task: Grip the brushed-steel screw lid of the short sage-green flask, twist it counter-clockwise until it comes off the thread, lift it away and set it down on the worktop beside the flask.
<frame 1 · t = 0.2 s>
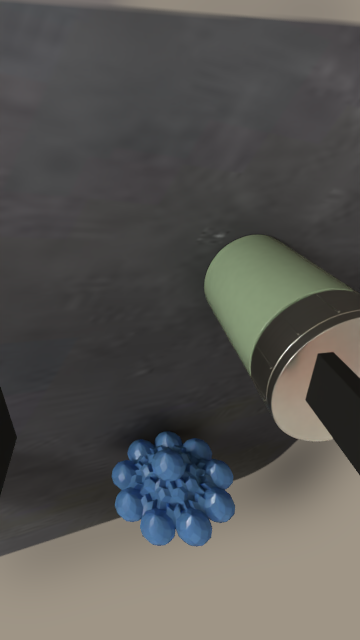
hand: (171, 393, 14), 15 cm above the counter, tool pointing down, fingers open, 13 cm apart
flask: (249, 281, 30), on the counter
flask lid: (340, 378, 18), point 14 cm above the counter, screwed on, not yet turned
grapes: (162, 426, 37), on the counter
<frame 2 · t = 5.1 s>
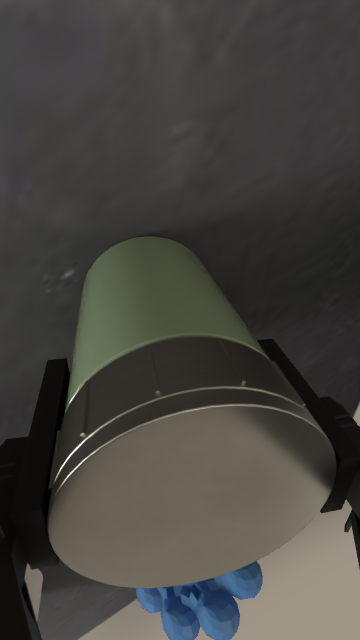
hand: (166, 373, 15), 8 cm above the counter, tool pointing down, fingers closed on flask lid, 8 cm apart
flask: (148, 299, 22), on the counter
flask lid: (196, 494, 10), point 14 cm above the counter, screwed on, not yet turned, touching gripper
grapes: (171, 475, 32), on the counter
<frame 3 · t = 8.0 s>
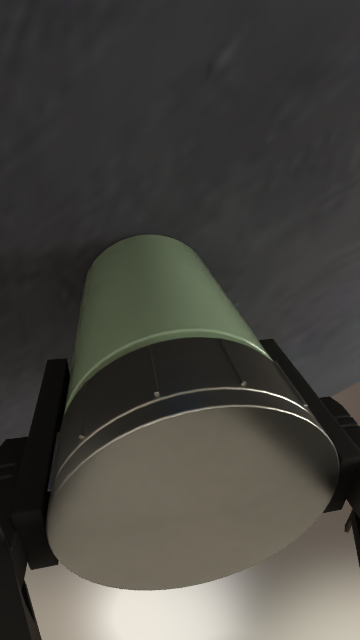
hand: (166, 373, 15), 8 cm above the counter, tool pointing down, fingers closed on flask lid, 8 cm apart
flask: (149, 297, 22), on the counter, touching gripper
flask lid: (197, 496, 10), point 14 cm above the counter, turned 180° so far, risen 0.2 cm, still on its thread, touching gripper
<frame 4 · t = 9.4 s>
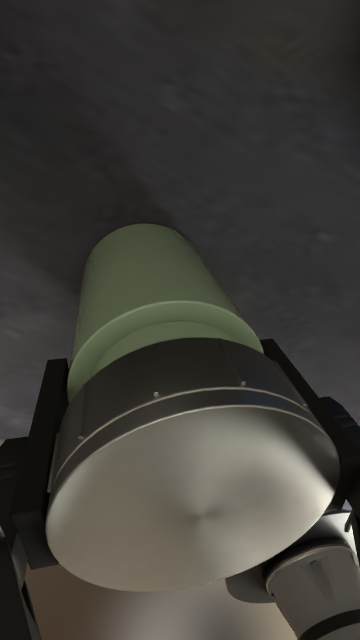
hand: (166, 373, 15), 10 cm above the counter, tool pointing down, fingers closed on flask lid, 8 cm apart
flask: (145, 283, 23), on the counter, touching gripper
flask lid: (197, 497, 10), point 16 cm above the counter, off its thread, touching gripper
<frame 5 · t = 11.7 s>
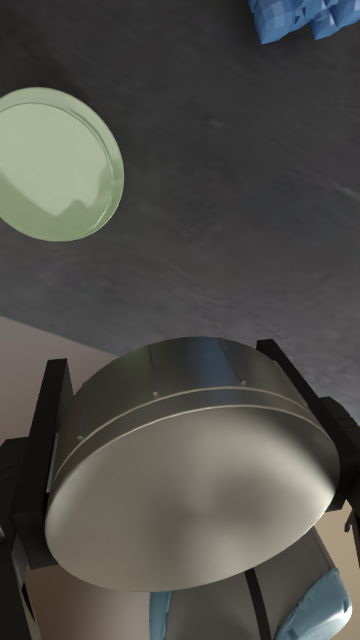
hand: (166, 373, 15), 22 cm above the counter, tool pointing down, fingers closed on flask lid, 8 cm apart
flask: (69, 156, 29), on the counter
flask lid: (197, 497, 10), point 28 cm above the counter, off its thread, touching gripper
grapes: (251, 9, 27), on the counter
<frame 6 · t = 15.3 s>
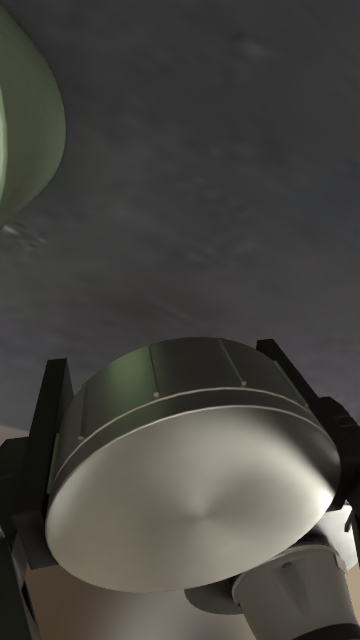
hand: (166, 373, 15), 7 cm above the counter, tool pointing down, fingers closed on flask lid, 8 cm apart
flask lid: (197, 497, 10), point 13 cm above the counter, off its thread, touching gripper
when the fingers open (0 cm above the counter, at t = 18.4 s): flask lid drops 3 cm, point 2 cm above the counter.
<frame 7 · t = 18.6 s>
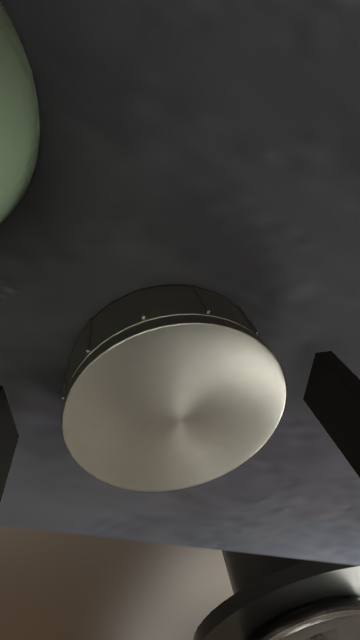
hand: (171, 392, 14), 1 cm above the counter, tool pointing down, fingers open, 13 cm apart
flask lid: (177, 409, 13), point 2 cm above the counter, off its thread
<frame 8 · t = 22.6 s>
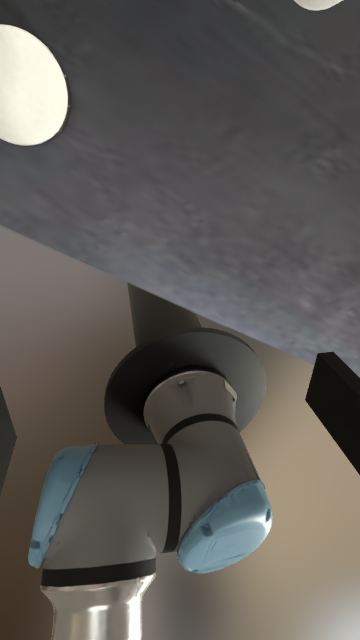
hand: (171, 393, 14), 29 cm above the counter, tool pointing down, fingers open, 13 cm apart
flask lid: (17, 90, 29), point 2 cm above the counter, off its thread
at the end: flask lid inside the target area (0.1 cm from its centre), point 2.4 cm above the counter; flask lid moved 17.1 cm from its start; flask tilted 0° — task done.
